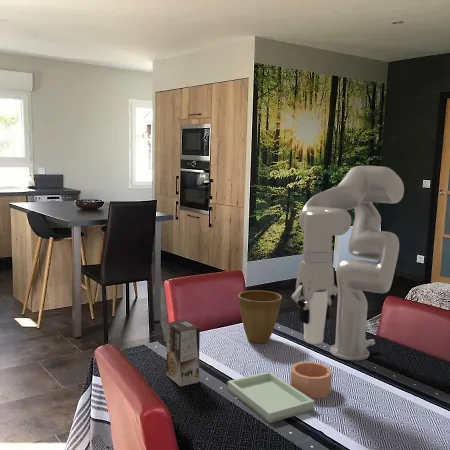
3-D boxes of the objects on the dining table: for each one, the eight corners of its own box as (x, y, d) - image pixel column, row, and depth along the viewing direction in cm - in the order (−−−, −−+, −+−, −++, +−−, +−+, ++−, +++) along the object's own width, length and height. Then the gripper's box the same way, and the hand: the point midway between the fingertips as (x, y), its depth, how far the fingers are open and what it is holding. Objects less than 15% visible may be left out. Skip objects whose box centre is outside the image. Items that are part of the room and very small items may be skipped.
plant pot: (281, 348, 173) (283, 302, 171) (237, 347, 173) (238, 301, 171) (277, 332, 188) (279, 290, 186) (237, 331, 188) (238, 289, 186)
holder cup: (312, 377, 152) (313, 359, 151) (338, 392, 142) (339, 373, 141) (282, 384, 146) (283, 366, 145) (307, 401, 137) (308, 381, 136)
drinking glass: (325, 346, 139) (328, 293, 136) (300, 344, 140) (302, 291, 138) (326, 337, 145) (328, 286, 143) (301, 335, 147) (303, 284, 144)
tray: (269, 379, 149) (269, 371, 149) (313, 410, 132) (314, 400, 132) (227, 389, 142) (227, 381, 142) (268, 423, 125) (269, 413, 125)
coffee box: (199, 382, 146) (200, 327, 144) (179, 387, 143) (180, 331, 141) (185, 370, 154) (185, 318, 152) (165, 375, 151) (165, 321, 148)
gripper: (332, 250, 146) (329, 311, 149) (282, 257, 138) (280, 321, 141) (350, 256, 140) (347, 319, 143) (300, 262, 131) (297, 330, 134)
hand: (314, 319), depth 142 cm, fingers closed on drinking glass, 6 cm apart
